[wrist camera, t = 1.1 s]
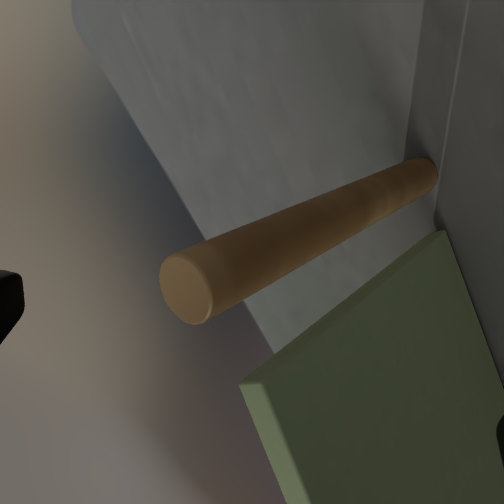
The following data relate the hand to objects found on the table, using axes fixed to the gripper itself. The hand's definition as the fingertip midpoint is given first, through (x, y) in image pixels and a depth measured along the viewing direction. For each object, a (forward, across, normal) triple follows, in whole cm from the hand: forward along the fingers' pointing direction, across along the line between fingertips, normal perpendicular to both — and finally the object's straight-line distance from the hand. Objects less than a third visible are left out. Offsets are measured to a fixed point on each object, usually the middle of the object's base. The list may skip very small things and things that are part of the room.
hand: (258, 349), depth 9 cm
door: (+10, +10, -6) cm, 15 cm away
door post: (+13, +5, 0) cm, 14 cm away
